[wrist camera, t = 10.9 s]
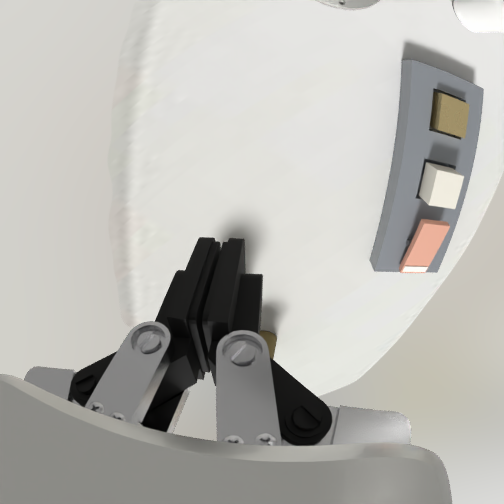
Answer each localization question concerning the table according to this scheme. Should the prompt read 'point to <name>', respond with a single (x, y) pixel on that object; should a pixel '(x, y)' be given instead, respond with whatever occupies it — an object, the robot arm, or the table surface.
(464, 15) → the can
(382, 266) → the panel
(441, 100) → the brass button
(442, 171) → the cream button
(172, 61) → the table surface
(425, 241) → the plate
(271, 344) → the cork
